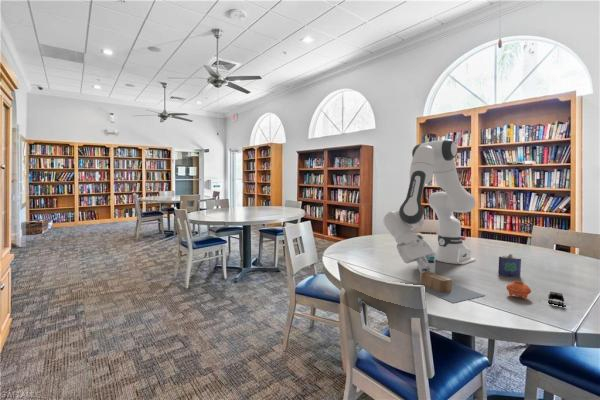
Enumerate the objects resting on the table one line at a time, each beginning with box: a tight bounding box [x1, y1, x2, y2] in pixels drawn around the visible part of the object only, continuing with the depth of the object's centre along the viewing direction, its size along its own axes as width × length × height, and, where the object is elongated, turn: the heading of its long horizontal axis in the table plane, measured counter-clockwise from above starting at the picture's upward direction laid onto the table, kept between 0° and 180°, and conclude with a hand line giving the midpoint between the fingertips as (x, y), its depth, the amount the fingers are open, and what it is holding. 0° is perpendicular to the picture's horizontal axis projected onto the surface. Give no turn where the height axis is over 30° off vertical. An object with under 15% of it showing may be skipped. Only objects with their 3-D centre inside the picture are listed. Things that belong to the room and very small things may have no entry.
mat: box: [423, 283, 486, 304], centre depth 126 cm, size 18×18×1 cm
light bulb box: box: [417, 251, 436, 274], centre depth 152 cm, size 11×7×11 cm, turn 168°
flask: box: [497, 253, 522, 277], centre depth 146 cm, size 9×3×11 cm, turn 74°
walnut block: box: [419, 271, 452, 293], centre depth 130 cm, size 5×5×12 cm
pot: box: [506, 280, 532, 301], centre depth 120 cm, size 8×8×7 cm
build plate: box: [547, 291, 566, 307], centre depth 114 cm, size 12×7×5 cm, turn 53°
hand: (427, 267), depth 135 cm, fingers closed
